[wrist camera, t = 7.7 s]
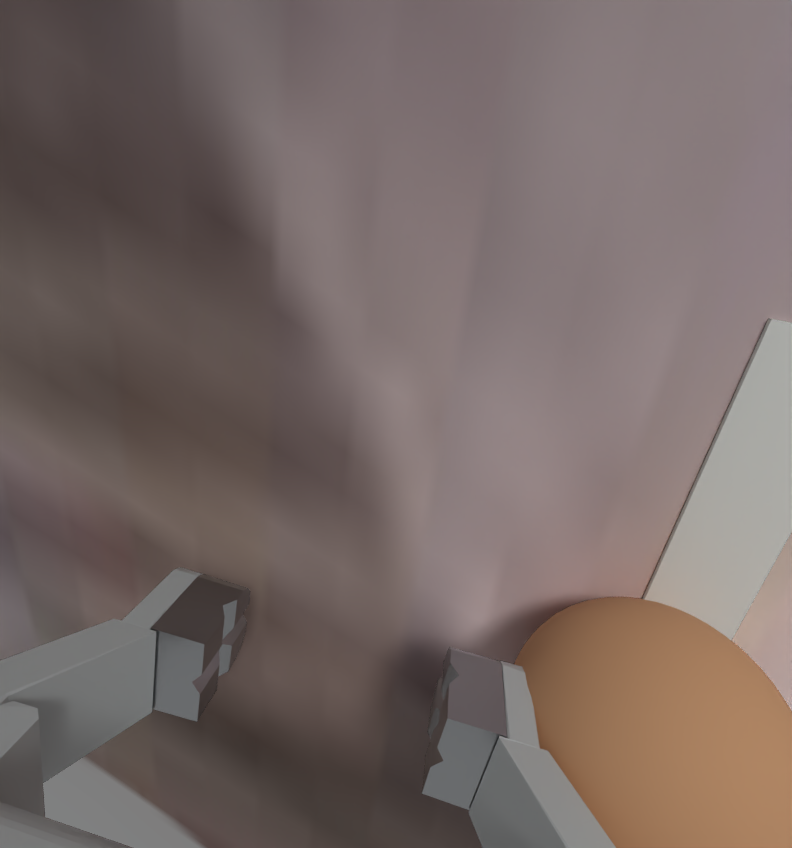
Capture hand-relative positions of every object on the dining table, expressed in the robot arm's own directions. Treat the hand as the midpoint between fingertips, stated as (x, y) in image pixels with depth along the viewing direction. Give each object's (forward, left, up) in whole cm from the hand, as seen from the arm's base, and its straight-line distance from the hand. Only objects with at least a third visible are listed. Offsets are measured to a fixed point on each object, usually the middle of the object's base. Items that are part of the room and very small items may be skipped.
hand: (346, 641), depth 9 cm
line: (0, +7, -2) cm, 7 cm away
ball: (0, +6, 0) cm, 6 cm away
